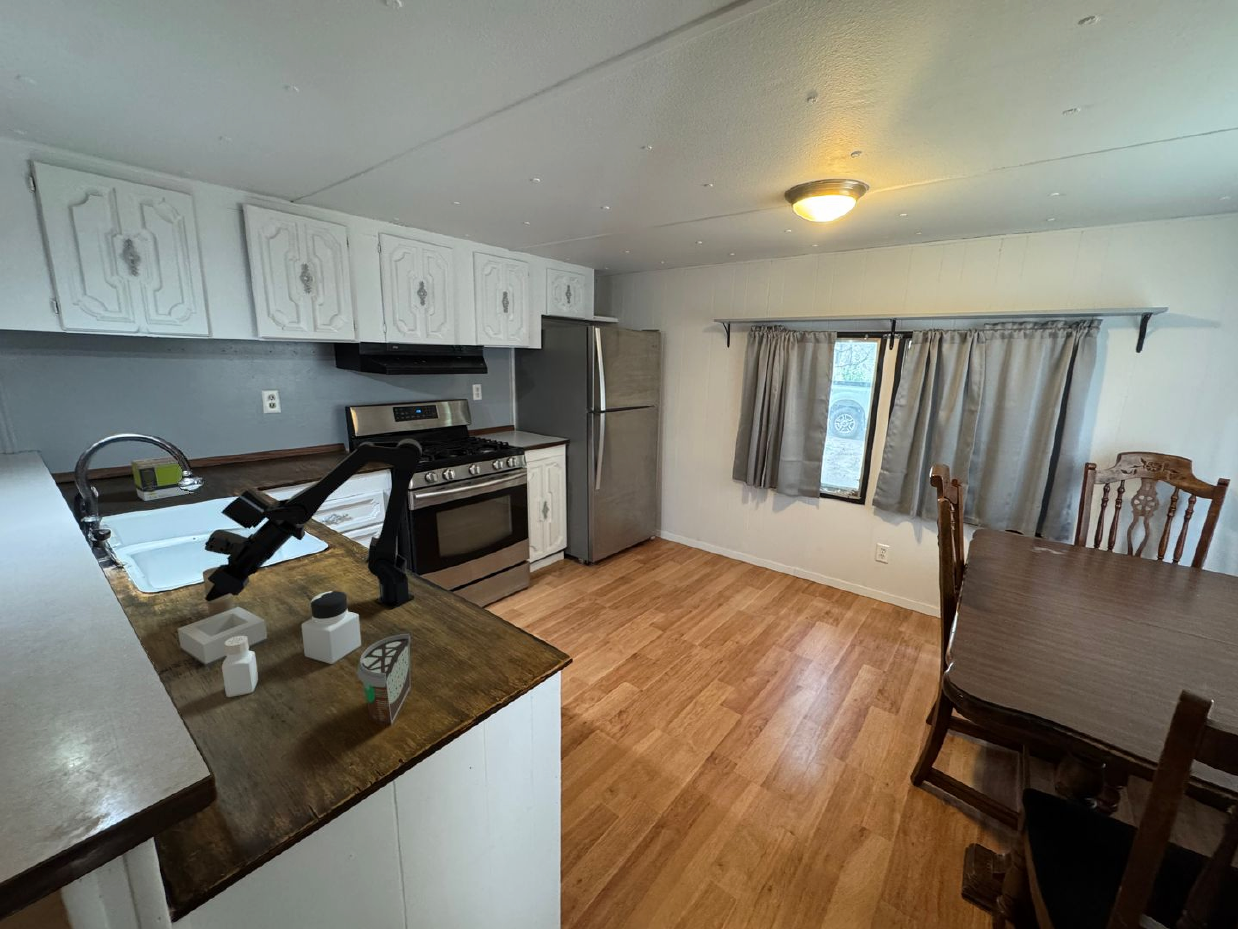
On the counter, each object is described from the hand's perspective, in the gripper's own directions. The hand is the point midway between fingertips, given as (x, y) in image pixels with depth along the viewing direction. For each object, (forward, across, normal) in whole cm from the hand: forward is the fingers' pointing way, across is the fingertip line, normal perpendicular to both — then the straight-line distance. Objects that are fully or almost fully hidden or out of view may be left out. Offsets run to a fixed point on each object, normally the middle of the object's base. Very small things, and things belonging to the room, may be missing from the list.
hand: (211, 595), depth 106 cm
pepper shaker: (-4, +27, +14) cm, 31 cm away
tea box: (+43, -118, -33) cm, 130 cm away
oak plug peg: (+4, 0, +6) cm, 7 cm away
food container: (-20, +39, +30) cm, 53 cm away
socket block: (+1, +10, +8) cm, 13 cm away
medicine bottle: (-13, +19, +23) cm, 32 cm away
